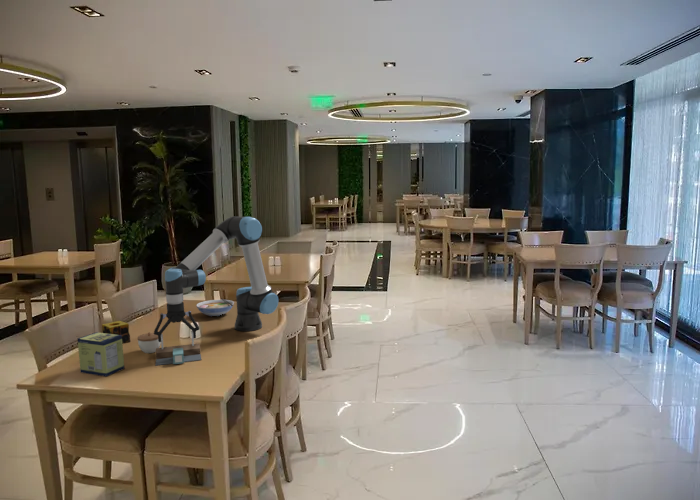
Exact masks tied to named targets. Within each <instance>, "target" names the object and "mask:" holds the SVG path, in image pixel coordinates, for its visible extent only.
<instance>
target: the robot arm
mask: <svg viewBox="0 0 700 500" xmlns="http://www.w3.org/2000/svg"><path fill="white" fill-rule="evenodd" d="M262 233H263V226H262V224H261V223H260V221H259V220H258V219H257V218H255V217H251V216H237V215H235V216H234V215H233V216H230V217H228V218H225V219H224V220H223V221H222V222H220V223H219V224H218V225H216V226H215V228H213V230H212V233H211V234H209V236H208V237H207V238H206V239H205V240H203V242H201V243H200V244H199V245H198V246H197V247H196V248H195V249H194V250H193V251H192V252H190V254H188V256H186V257H185V258H184V259H183V260H182V261H181V262H179V264H178V265H177V266H175V267H170V268H168V269H167V270H165V272H164V285H165V299H166V313H163V312H161V313H160V315H159V320H158V322H157V325H156V326H155V329H154V330H153V333H154V335H158V341H159V342H161V344H160V348H162V349H163V347H164V335H163V332H164V331H165V330H166V329H167V328H168V326H169V325H170V324H171V323H173V324H174V323H181V322H182V323H184V324H185V326H186V327H188V328H189V329H190V330H191V331H190V332H191V333H190V335H191V344H192V346H194V344H195V342H194V341H195V339H197V332H198V331H200V326H199V324H198V323H197V322H196V320H195V318H194V317H193V315H192V311H191V310H188V311H185V303H184V289H186V288H192V287H193V288H194V287H199V286H202V285H204V284H205V282H206V280H207V277H206V273H205V271H204V270H202V269H198V268H199V267H200V266H201V265H202V264H203V263H204V262H205V261H206V260H207V259H209V257H210V256H211V255H213V254H214V253H215V252H217V251H216V250H218V249H219V248H220V247H221V246H222V245H223V244H227V243H228V242H229V241H230V240H233V239H235V240H236V242H237V245H238V246H239V247H241V249H242V254H243V259H244V262H245V265H246V270H247V273H248V274H247V275H248V278H249V283H250V286H245V287H244V286H243V287H240V288H237V290H236V292H235V293H236V295H235V296H236V313H237V314H236V317H235V322H234V330H236V331H239V332H252V331H256V330H257V331H258V330H260V329H262V327H263V323H262V320H261V319H262V318H260V314H262V315H270V314H272V313H274V312H275V311H276V309H277V308H278V306H279V296H278V295H277V294H276V293H275V292H273V290H272V286H271V285H269V284H268V281H267V276H266V272H265V267H264V263H263V259H262V255H261V251H260V246H259V243H260V241H261V238H260V237H261V235H262ZM259 313H260V314H259ZM185 316H187V317H189V319H190V321H191V323H192V324H193V325H192V324H191V323H190V322H189V321H188V320H187V319H186V318H185ZM165 318H167V320H166V322H164V324H163V326H162V327H161V325H162V323H163V320H164V319H165ZM160 327H161V328H160ZM159 329H160V330H159Z"/></svg>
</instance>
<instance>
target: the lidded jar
mask: <svg viewBox="0 0 700 500" xmlns="http://www.w3.org/2000/svg"><path fill="white" fill-rule="evenodd" d="M137 343H138V347H139V349H140V350H141V352H143V353H144V354H154V353H156V348H161V342H159V341H158V335H154V332H147V333H143V334H140V335H138V336H137Z"/></svg>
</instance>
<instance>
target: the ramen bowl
mask: <svg viewBox="0 0 700 500" xmlns="http://www.w3.org/2000/svg"><path fill="white" fill-rule="evenodd" d="M234 303H235V301H233V300H232V299H231V300H229V299H224V298H223V297H221V298H220V299H210V300H209V299H208V300H204V301H200V302H198V303H196V308H197V310H198V311H199V312H200V313H202V314H203V315H206V316H209V317H212V316H217V317H220V315H221V316H222V314H223V315H225V314H227V313H228V312H230V311H231V310H232V308H233V306H234Z"/></svg>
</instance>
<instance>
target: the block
mask: <svg viewBox="0 0 700 500" xmlns="http://www.w3.org/2000/svg"><path fill="white" fill-rule="evenodd" d="M173 363H174V364H173V365H178V364H185V362H184V354H183V348H176V349H173Z"/></svg>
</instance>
